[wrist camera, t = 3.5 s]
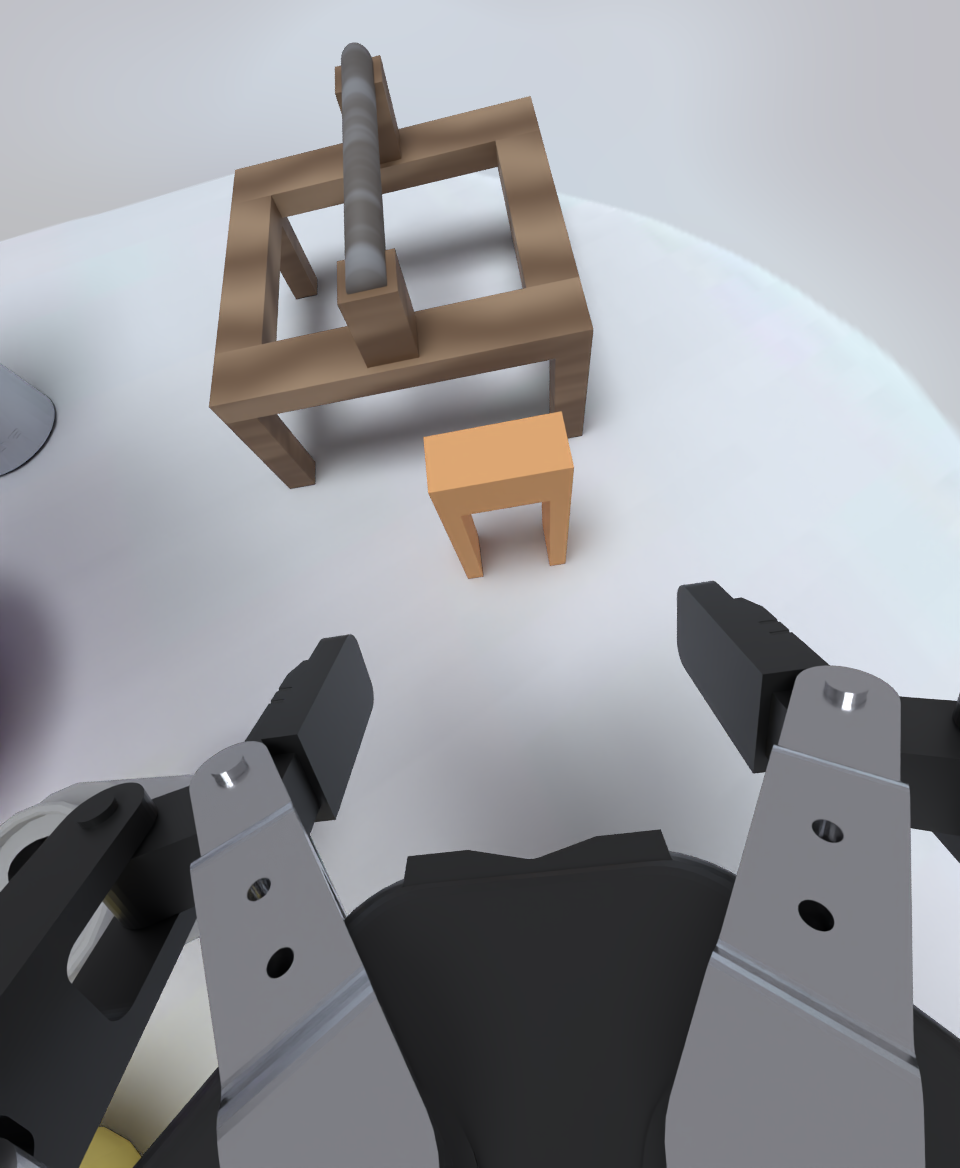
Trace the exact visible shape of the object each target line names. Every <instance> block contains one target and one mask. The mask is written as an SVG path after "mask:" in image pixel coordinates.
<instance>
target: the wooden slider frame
mask: <svg viewBox="0 0 960 1168" xmlns="http://www.w3.org/2000/svg"><path fill="white" fill-rule="evenodd" d="M335 95H336V97H337V101H338V104H339V106H340V110H341V113H342V132H343V143H341V144H337V145H333V146H329V147H325V148H321V149H317V150H313V151H309V152H305V153H301V154H297V155H293V156H289V157H285V158H281V159H277V160H273V161H269V162H265V163H262V164H258V165H253V166H249V167H245V168H241V169H237V170H235V177H234V186H233V195H232V204H231V213H230V222H229V231H228V240H227V249H226V258H225V267H224V276H223V285H222V294H221V303H220V312H219V321H218V330H217V339H216V348H215V357H214V366H213V375H212V384H211V393H210V402H209V408H210V409H211V410H212V411H213V412H214V413H215V414H216V415H217V416H218V417H219V418H220V419H221V420H222V421H223V422H224V423H225V424H226V425H227V426H228V427H229V428H230V429H231V430H232V431H233V432H234V433H235V434H236V435H237V436H238V437H239V438H240V439H241V440H242V441H243V442H244V443H245V444H246V445H247V446H248V447H249V448H250V449H251V450H252V451H253V452H254V453H255V454H256V455H257V456H258V457H259V458H260V459H261V460H262V461H263V462H264V463H265V464H266V465H267V466H268V467H269V468H270V469H271V470H272V471H273V472H274V473H275V474H276V475H277V476H278V477H279V478H280V479H281V480H282V481H283V482H284V483H285V484H286V485H287V486H288V487H289V488H290V489H292V488H297V487H303V486H308V485H314V484H315V461H314V460H313V458H312V457H311V456H310V455H309V453H308V452H307V451H306V450H305V449H304V447H303V446H302V445H301V444H300V442H299V441H298V440H297V439H296V437H295V436H294V435H293V434H292V432H291V431H290V430H289V429H288V428H287V426H286V425H285V424H284V423H283V421H282V420H281V419H280V418H279V416H278V415H277V414H279V413H284V412H289V411H294V410H299V409H304V408H309V407H314V406H319V405H324V404H329V403H335V402H340V401H345V400H350V399H355V398H360V397H365V396H370V395H375V394H380V393H385V392H390V391H395V390H400V389H405V388H410V387H415V386H420V385H425V384H430V383H435V382H441V381H446V380H451V379H456V378H461V377H466V376H471V375H476V374H481V373H486V372H491V371H496V370H501V369H506V368H511V367H516V366H521V365H526V364H531V363H536V362H541V361H547V360H550V386H549V414H550V413H555V412H560V411H562V415H563V420H564V424H565V429H566V434H567V438H571V437H577V436H582V431H583V422H584V412H585V403H586V394H587V384H588V375H589V365H590V356H591V347H592V337H593V326H592V322H591V319H590V315H589V311H588V308H587V304H586V300H585V296H584V293H583V289H582V285H581V282H580V278H579V274H578V270H577V267H576V263H575V259H574V256H573V252H572V248H571V244H570V241H569V237H568V233H567V230H566V226H565V222H564V218H563V215H562V211H561V207H560V204H559V200H558V196H557V192H556V189H555V185H554V181H553V178H552V174H551V170H550V166H549V163H548V159H547V155H546V152H545V148H544V144H543V141H542V137H541V133H540V130H539V126H538V122H537V118H536V114H535V111H534V107H533V104H532V100H531V97H530V96H529V97H525V98H521V99H518V100H513V101H509V102H505V103H501V104H498V105H493V106H489V107H485V108H481V109H478V110H473V111H469V112H465V113H461V114H457V115H453V116H450V117H445V118H441V119H437V120H434V121H429V122H425V123H421V124H417V125H413V126H409V127H405V128H401V129H398V127H397V122H396V118H395V114H394V110H393V106H392V102H391V97H390V94H389V89H388V85H387V81H386V77H385V73H384V69H383V64H382V61H381V56H380V55H379V56H375V57H371V55H370V53H369V52H368V50H367V49H366V48H365V47H364V46H363V45H361V44H359V43H350V44H348V45H347V46H346V47H345V48H344V50H343V52H342V57H341V66H337V67H335ZM494 167H498V171H499V176H500V181H501V186H502V190H503V195H504V200H505V205H506V210H507V215H508V219H509V224H510V229H511V234H512V239H513V244H514V249H515V253H516V258H517V263H518V268H519V273H520V278H521V282H522V287H523V289H519V290H515V291H510V292H505V293H500V294H496V295H491V296H486V297H482V298H477V299H472V300H468V301H463V302H458V303H454V304H449V305H444V306H439V307H435V308H430V309H425V310H421V311H416V312H414V310H413V307H412V303H411V300H410V297H409V294H408V290H407V287H406V284H405V281H404V277H403V274H402V271H401V268H400V264H399V261H398V258H397V255H396V251H395V248H394V249H390V250H386V249H385V234H384V218H383V202H382V194H385V193H389V192H394V191H398V190H402V189H406V188H410V187H415V186H419V185H423V184H427V183H431V182H436V181H440V180H444V179H448V178H452V177H457V176H461V175H465V174H469V173H473V172H478V171H481V170H486V169H490V168H494ZM343 203H344V235H345V260H341V261H337V305H338V307H339V309H340V311H341V313H342V315H343V317H344V319H345V321H346V324H347V326H345V327H341V328H336V329H331V330H327V331H322V332H317V333H313V334H308V335H303V336H299V337H294V338H289V339H284V340H280V341H276V337H277V318H278V298H279V278H280V271H281V273H282V275H283V277H284V278H285V280H286V282H287V284H288V286H289V287H290V289H291V291H292V293H293V295H294V296H295V298H296V299H299V298H303V297H308V296H312V295H317V277H316V275H315V273H314V271H313V269H312V267H311V265H310V263H309V261H308V259H307V257H306V255H305V253H304V251H303V249H302V247H301V245H300V243H299V241H298V239H297V237H296V235H295V232H294V230H293V228H292V226H291V224H290V222H289V220H288V218H287V217H288V216H293V215H297V214H301V213H305V212H309V211H314V210H318V209H322V208H326V207H330V206H335V205H339V204H343Z"/></svg>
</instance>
